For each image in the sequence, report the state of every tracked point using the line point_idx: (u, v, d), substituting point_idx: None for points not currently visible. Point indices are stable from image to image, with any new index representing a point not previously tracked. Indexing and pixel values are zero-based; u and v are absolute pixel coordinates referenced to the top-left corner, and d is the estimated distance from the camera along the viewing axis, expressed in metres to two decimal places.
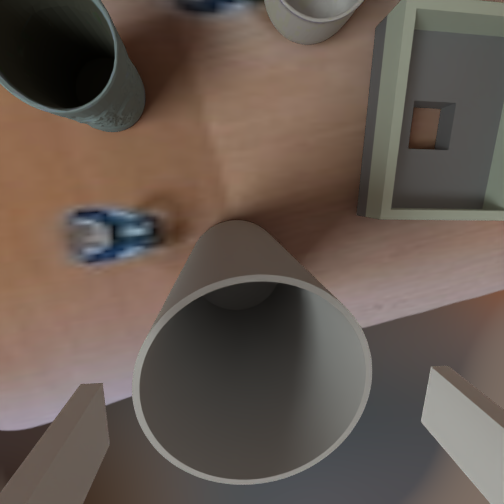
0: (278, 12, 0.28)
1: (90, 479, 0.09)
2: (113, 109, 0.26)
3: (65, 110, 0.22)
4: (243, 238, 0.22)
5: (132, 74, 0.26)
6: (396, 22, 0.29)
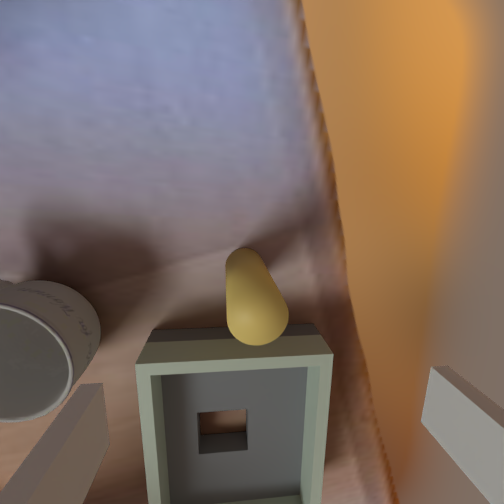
0: None
1: (90, 479, 0.09)
2: None
3: None
4: None
5: None
6: None
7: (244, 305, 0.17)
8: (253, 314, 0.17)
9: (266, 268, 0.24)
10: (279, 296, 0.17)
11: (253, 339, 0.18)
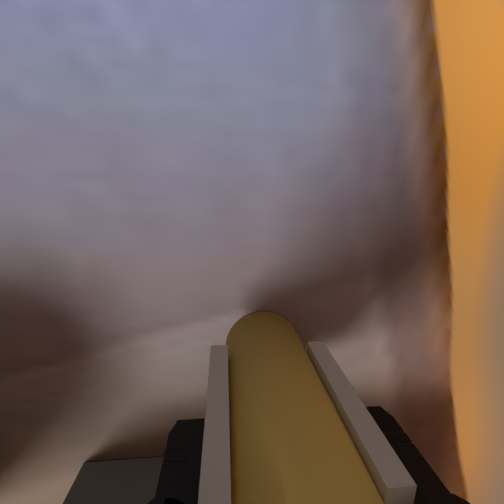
0: None
1: None
2: None
3: None
4: None
5: None
6: None
7: None
8: None
9: (325, 390, 0.10)
10: None
11: None
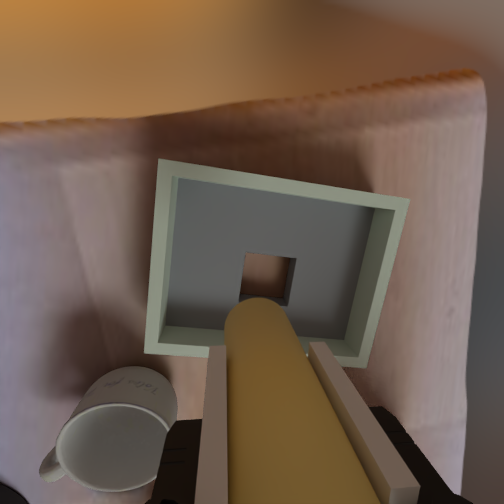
0: None
1: None
2: None
3: None
4: None
5: None
6: None
7: None
8: None
9: (306, 358, 0.12)
10: None
11: None
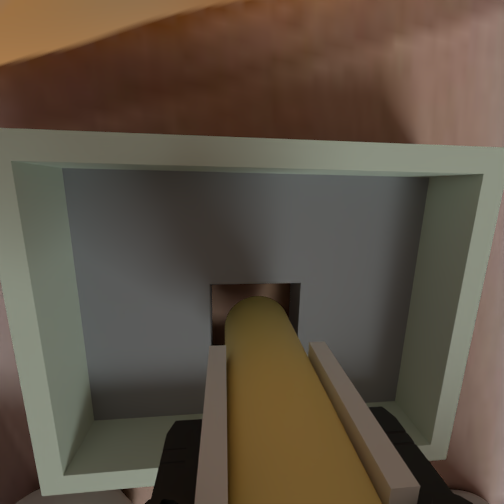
0: None
1: None
2: None
3: None
4: None
5: None
6: None
7: None
8: None
9: (306, 355, 0.12)
10: None
11: None
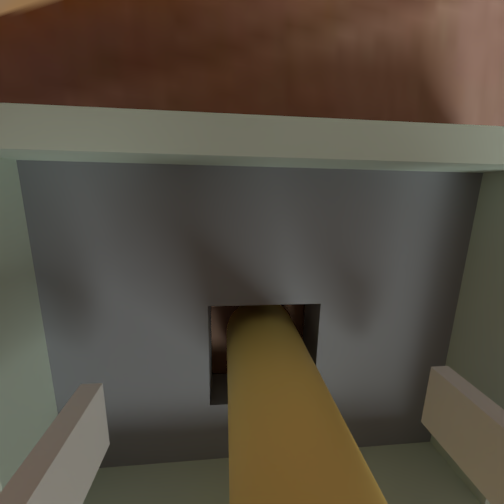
0: None
1: (90, 479, 0.09)
2: None
3: None
4: None
5: None
6: None
7: None
8: None
9: (313, 363, 0.11)
10: None
11: None
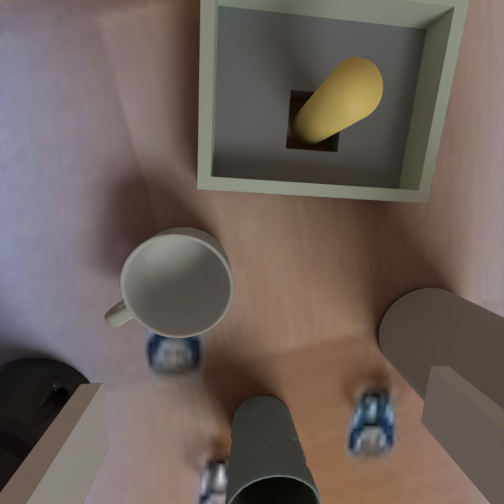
0: None
1: (90, 479, 0.09)
2: (302, 454, 0.31)
3: None
4: None
5: (271, 433, 0.32)
6: None
7: (344, 74, 0.19)
8: (351, 85, 0.19)
9: None
10: (376, 69, 0.19)
11: (348, 113, 0.19)
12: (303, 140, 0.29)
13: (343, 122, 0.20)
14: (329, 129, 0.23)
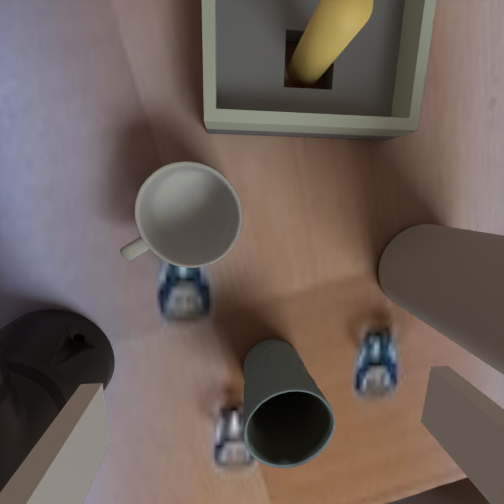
0: None
1: (90, 479, 0.09)
2: (313, 380, 0.33)
3: (333, 421, 0.30)
4: (466, 312, 0.25)
5: (282, 363, 0.34)
6: (222, 125, 0.29)
7: None
8: None
9: None
10: None
11: (343, 25, 0.21)
12: (299, 80, 0.31)
13: (338, 38, 0.22)
14: (325, 53, 0.25)
